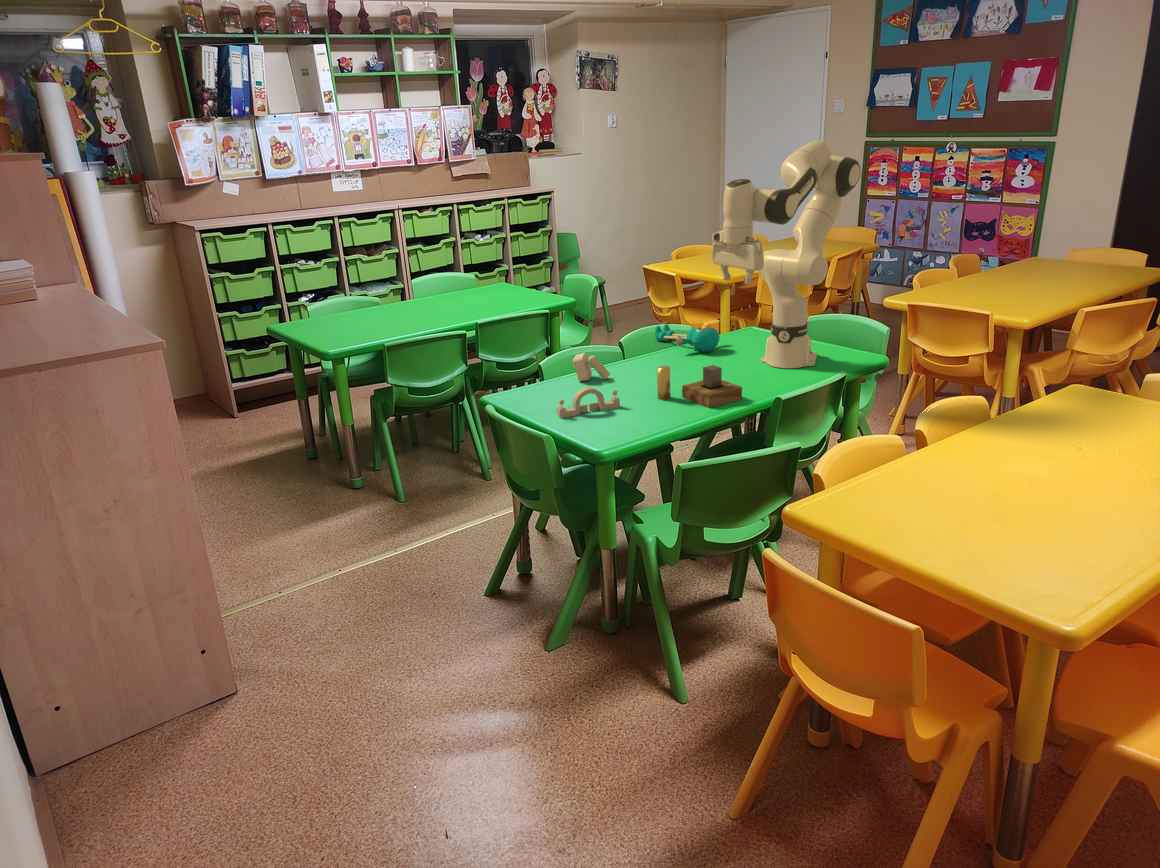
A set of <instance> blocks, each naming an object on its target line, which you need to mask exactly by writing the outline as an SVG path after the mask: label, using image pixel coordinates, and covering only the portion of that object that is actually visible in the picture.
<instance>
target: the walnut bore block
mask: <svg viewBox="0 0 1160 868" xmlns="http://www.w3.org/2000/svg"><path fill="white" fill-rule="evenodd" d="M681 386H682V393H681V394H682V396H681V397H682V398H684V399H685V400H688V401H689V402H693V403H696V404H698V405H701V406H703V407H704V408H708V409H710V408H714V407H717V406H721V405H725V404H729V403H732V402H736V401H740V400H742V399H743V386H740V385H738V384H736V383H732V382H729V381H727V380H723V379H721V388H717V389H713V390H709V389H706V388H703V379H702V380H698V381H695V382H690V383H685V384H683V385H681Z"/></svg>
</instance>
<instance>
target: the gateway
mask: <svg viewBox="0 0 1160 868" xmlns="http://www.w3.org/2000/svg"><path fill="white" fill-rule="evenodd" d="M618 392H619V391H618V390H616V389H612V390H611V393H612V394H611V395H613V397H610V400H608V401H605V397H604V395H603V393H602V392H601V391H599V390H598V389H597V388H594V387H592V386H586V387H583V388H581V389H579V390H578V391H576V393H575V394H574V396H573V398H572V407H569V408H566V407H564V406H563V405H564V403H565V400H564V399H563V398H561V399H558V400H557V402H558V403H559V405H560V406H557V407H556V410H557V411H556V412H557V417H558V418H559V419H562V418H567V417H574V416H580V415H581V413H587V412H592V411H597V410H599V411H600V412H602V411H607V410H613V409H617V408H621V405H620V403H621V400H620V398H619V397H617V396H616V395H618V394H617V393H618ZM591 394H593V395H596V402H593V403H589V404H583V405H580V404H581V401H582V399H583V398H584V397H585V396H587V395H591ZM588 407H589V408H588Z"/></svg>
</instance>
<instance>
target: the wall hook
mask: <svg viewBox="0 0 1160 868" xmlns="http://www.w3.org/2000/svg"><path fill="white" fill-rule="evenodd" d="M572 363H573V364H572V365H573V366H574V370H575V374H576V375H577V379H578V382H579V383H581V382H585V381H589V380H590V379H591V377H592V375H593V372H592V368H593V369H594V371H596V372H597V374H598V375H599V376H600V377H601V378H602V380H603V379H604V380H606V379H607V378H608V377H609V376H610V375H611V372H610V371H609V370H607V368H606V367H605V366H604V364H603V363H602V362H601V361H600V359H598V358H597V357H596V356H595V355H590V356H589V357H588V355H587V352H583V353H578V354H575V355H574V358H573V359H572ZM591 367H592V368H591Z"/></svg>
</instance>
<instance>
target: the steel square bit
mask: <svg viewBox="0 0 1160 868" xmlns="http://www.w3.org/2000/svg"><path fill="white" fill-rule="evenodd" d="M722 370H723V369H722V367H721V366H718V365H714V364H712V365H707V366H703V367H702V380H703V388H706V389H709V390H713V389H717V388H721V380H722V376H723V375H722V373H723V372H722Z"/></svg>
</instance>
